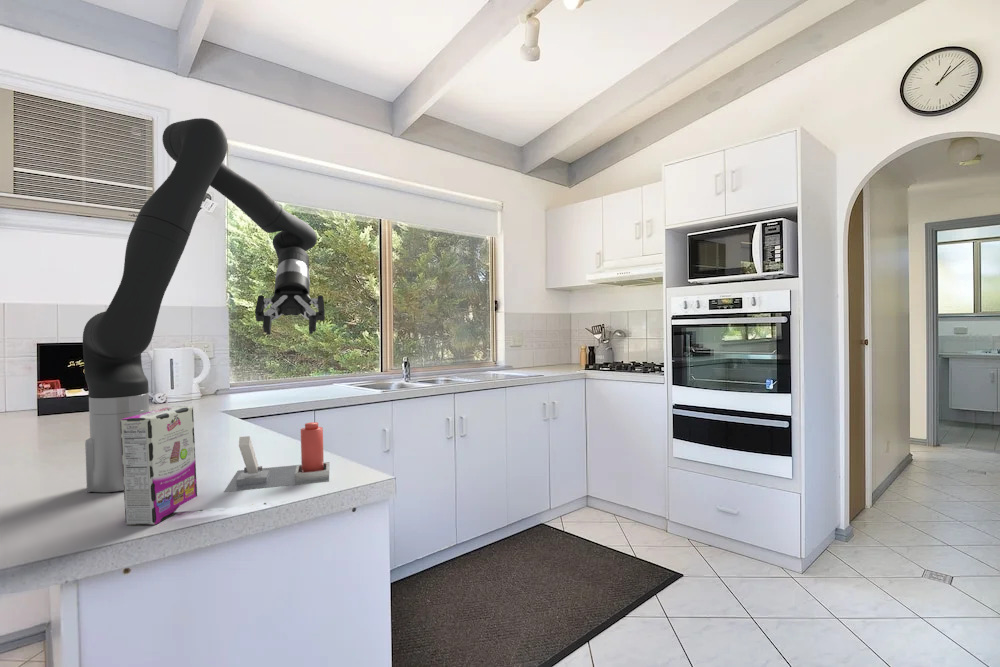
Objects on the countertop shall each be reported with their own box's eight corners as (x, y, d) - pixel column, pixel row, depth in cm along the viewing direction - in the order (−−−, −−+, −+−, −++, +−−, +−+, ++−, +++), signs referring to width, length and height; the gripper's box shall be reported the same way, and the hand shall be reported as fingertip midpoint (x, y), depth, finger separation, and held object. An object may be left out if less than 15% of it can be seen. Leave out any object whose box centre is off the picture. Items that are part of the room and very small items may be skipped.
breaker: (244, 475, 99) (234, 446, 89) (245, 467, 100) (234, 437, 90) (262, 473, 100) (253, 444, 90) (262, 465, 101) (254, 435, 91)
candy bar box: (169, 501, 91) (166, 406, 91) (198, 501, 91) (195, 405, 91) (121, 526, 80) (118, 417, 80) (154, 526, 80) (151, 417, 80)
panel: (223, 497, 93) (223, 483, 93) (237, 475, 106) (237, 463, 106) (329, 486, 98) (328, 473, 98) (329, 466, 112) (329, 455, 112)
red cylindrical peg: (301, 479, 99) (299, 426, 99) (302, 473, 103) (301, 422, 103) (323, 477, 101) (322, 424, 100) (324, 471, 104) (322, 420, 104)
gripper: (257, 269, 120) (251, 319, 109) (324, 270, 124) (324, 318, 113) (261, 294, 125) (255, 344, 114) (324, 294, 129) (325, 343, 119)
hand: (289, 331), depth 114 cm, fingers open, 8 cm apart
